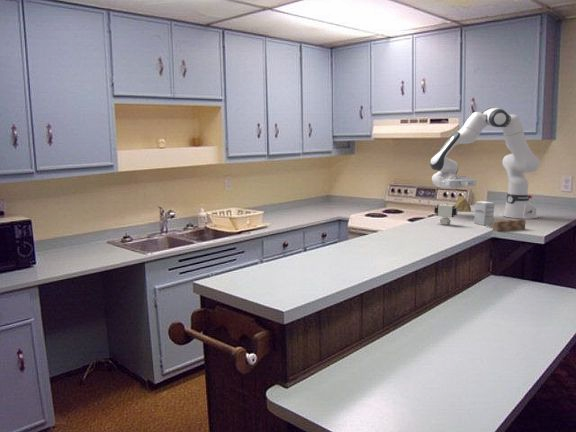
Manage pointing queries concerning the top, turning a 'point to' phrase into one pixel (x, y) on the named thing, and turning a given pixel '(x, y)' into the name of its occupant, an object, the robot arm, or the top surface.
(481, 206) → the supplement box
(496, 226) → the walnut dock
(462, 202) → the rock
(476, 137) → the robot arm
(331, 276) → the top surface
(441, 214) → the pneumatic valve
